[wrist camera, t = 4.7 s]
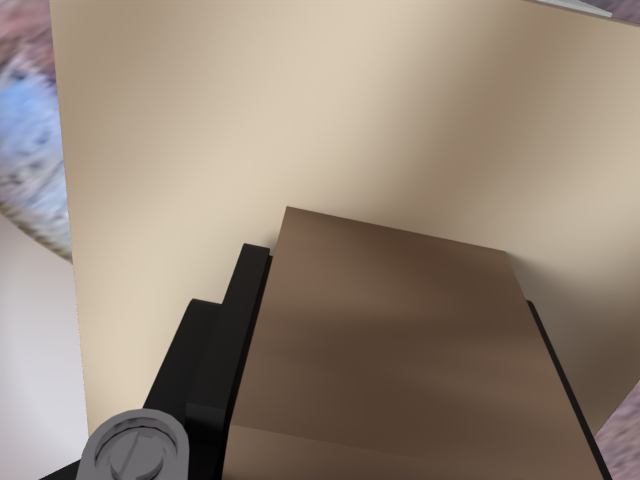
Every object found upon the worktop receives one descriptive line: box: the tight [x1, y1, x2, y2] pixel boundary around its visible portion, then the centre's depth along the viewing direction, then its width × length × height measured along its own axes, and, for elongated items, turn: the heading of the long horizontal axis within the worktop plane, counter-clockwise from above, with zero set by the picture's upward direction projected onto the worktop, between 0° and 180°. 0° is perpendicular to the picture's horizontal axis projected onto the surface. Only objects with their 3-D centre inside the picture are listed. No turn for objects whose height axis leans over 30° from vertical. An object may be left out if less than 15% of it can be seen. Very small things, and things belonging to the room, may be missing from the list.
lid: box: [49, 0, 640, 480], centre depth 10 cm, size 13×13×7 cm
